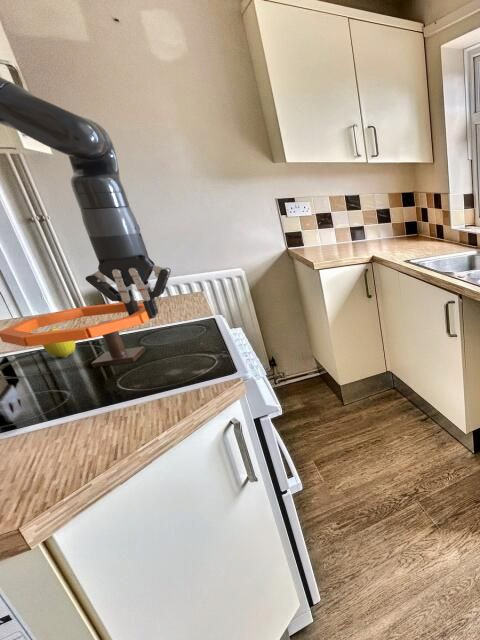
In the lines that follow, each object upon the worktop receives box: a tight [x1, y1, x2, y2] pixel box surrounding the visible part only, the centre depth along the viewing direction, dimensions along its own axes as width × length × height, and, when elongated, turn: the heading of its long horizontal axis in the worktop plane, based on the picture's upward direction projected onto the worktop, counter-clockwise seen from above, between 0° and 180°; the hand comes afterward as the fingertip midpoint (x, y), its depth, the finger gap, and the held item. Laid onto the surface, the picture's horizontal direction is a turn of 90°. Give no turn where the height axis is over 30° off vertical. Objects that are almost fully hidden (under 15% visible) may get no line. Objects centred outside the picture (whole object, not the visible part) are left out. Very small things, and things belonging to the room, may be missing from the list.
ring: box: [0, 301, 150, 348], centre depth 83 cm, size 21×21×2 cm
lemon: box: [42, 328, 76, 359], centre depth 106 cm, size 6×6×8 cm
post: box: [90, 319, 146, 369], centre depth 104 cm, size 8×8×10 cm
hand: (145, 318), depth 87 cm, fingers closed on ring, 2 cm apart
